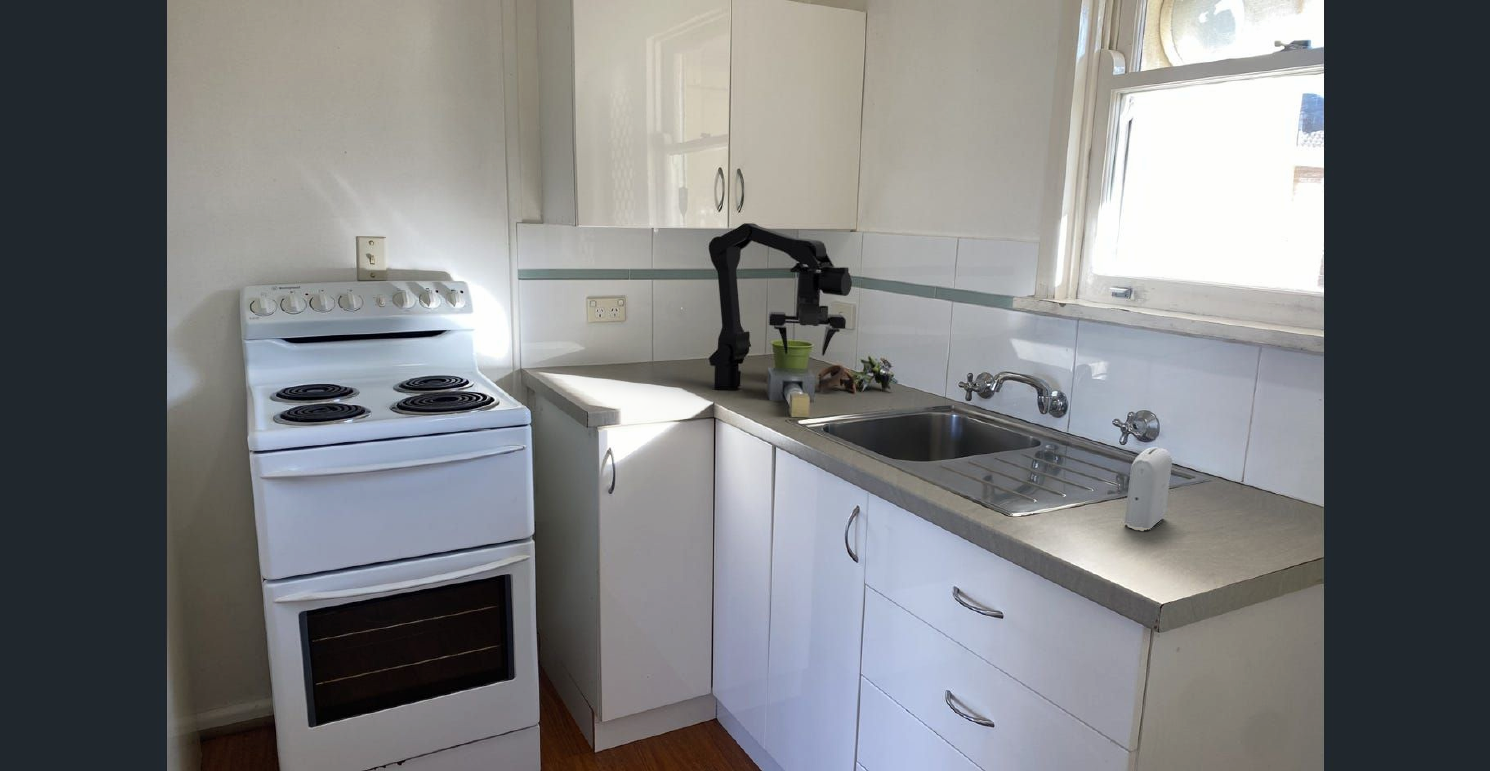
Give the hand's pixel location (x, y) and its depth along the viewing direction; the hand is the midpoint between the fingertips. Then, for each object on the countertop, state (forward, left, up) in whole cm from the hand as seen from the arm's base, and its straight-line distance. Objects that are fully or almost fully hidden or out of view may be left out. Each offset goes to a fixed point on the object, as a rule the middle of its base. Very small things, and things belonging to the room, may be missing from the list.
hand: (804, 354), depth 228 cm
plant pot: (-1, +21, -12) cm, 25 cm away
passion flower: (+20, +14, -12) cm, 27 cm away
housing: (-3, +4, -12) cm, 13 cm away
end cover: (-3, -11, -12) cm, 16 cm away
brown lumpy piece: (+11, +12, -12) cm, 20 cm away
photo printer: (+45, -88, -12) cm, 99 cm away
